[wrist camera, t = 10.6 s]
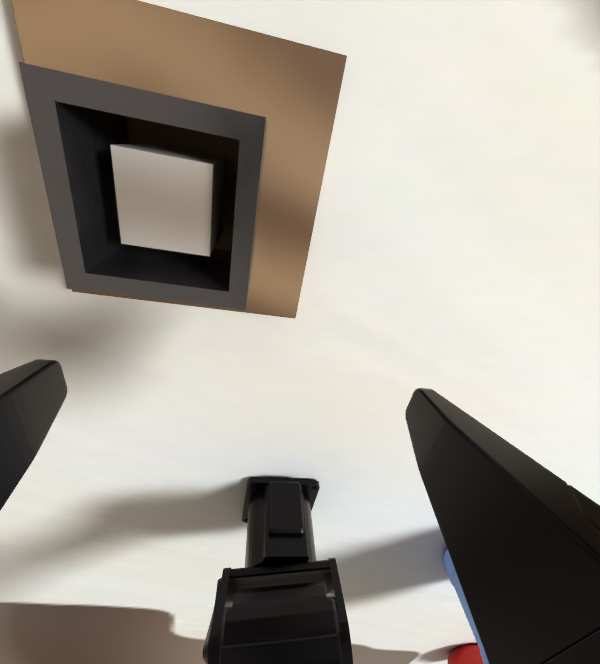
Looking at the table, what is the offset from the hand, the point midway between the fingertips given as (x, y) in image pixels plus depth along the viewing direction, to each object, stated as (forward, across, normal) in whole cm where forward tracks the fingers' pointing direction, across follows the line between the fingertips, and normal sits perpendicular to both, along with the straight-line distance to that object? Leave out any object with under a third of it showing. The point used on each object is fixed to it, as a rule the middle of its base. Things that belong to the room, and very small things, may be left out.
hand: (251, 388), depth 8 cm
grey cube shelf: (+10, +4, -3) cm, 11 cm away
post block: (+11, +4, -3) cm, 12 cm away
